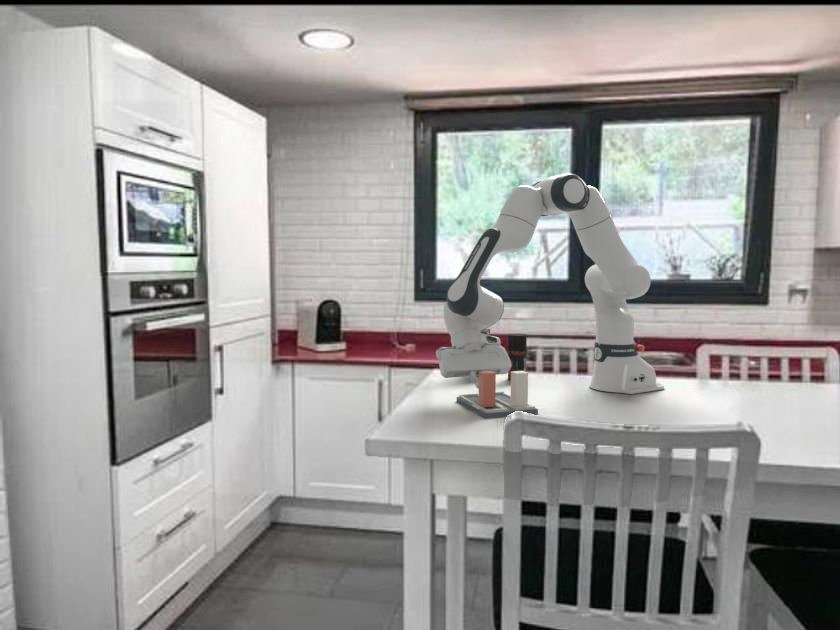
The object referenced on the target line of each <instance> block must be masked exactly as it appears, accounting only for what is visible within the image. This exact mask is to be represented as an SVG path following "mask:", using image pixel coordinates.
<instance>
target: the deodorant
mask: <svg viewBox="0 0 840 630" xmlns="http://www.w3.org/2000/svg"><path fill="white" fill-rule="evenodd" d="M527 335H528V334H526V333H508V337H507V338H508V345H507V346H508V347H507V350H508V351H507V354H508V356H509V358H510V361H511V368H510V370H509V372H508V373H507V380H508V381H510V380H511V371H525V372H527V344H528V343H527Z"/></svg>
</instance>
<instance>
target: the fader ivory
mask: <svg viewBox="0 0 840 630" xmlns="http://www.w3.org/2000/svg"><path fill="white" fill-rule="evenodd" d="M510 396H511V405H512V406H514V407H526V406H528V404H529V403H528V401H529V400H528V398H529V397H528V396H529V372H528V371H526V372H525V371H511V381H510Z"/></svg>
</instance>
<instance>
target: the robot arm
mask: <svg viewBox="0 0 840 630" xmlns="http://www.w3.org/2000/svg"><path fill="white" fill-rule="evenodd" d="M501 208H502V209H501V211H500V213H499V215H498V217H497V220H496V221H495V223H494V225H493V226H492V227H491V228H488V229H486V230H485V231H484V232H483V233H482V235H481V236H479V237H480V238H479V239H478V240H477V241H476V243H475V246H474V247H473V249H472V251H471V253H470V254H469V256H468V257H467V260H466V262H465V263H464V265H463V267H462V269H461V270H460V272H459V273H458V275H457V277H456V278H454V280H453V281H452V283H451V284H450V285H449V288H448V289H447V292H446V301H445V302H444V306H443V319H444V325H445V327H446V330H447V332H448V334H449V336H450V343H451V346H446V347H444V346H440V347H439V348H438V349H436V351H435V356H436V359H437V360H438V365H439V372H440V375H441V377H443V378H445V379H451V378H462V377H463V378H464V377H466V378H467V377H468V379H469V380H470V382H471V383H473V384H474V385H475V388H476V389H479V379H478V378H477V377H476V376H479V371H493V372H495V373H496V376H497V375H508V372H509V370H510V368H511V361H510V358H509V356H508V351H507V350H506V349H505V347H503V346H502V345H501V344H502V342H501V339H500V338H499V337H497V336H493V335H490V336H489V335H486V334H483V333H481V332H480V331H481V330H484V329H489V328H490V327H492V326H493V325H495V324H496V323H498V322H499V321H500V319H501V318H502V317H503V315H504V310H505V306H504V305H505V304H504V301H503V298H502V297H501V296H499V295H498V294H496V293H494V292H493V291H491V290H489V289H487V288H485V287H484V286H482V285H481V284H480V283H481V279H482V277H483V275H484V274H485V272H486V270H487V268H488V266H489V265H490V263H491V261H492V259H493V258H494V257H495V256H496V255H498V254H501V253H507V254H508V253H509V254H514V253H519V252H520V251H523V250H525V248H527V247H528V246H529V244H530V242H531V241H532V238H533V237H534V233H535V231H536V228H537V225H538V223H539V220H540V218H541V217H549V216H558V215H561V214H563V213H564V214H565V213H566V214H567V215H568V216H569V218H570V220H571V222H572V224H573V228H574V229H575V232H576V235H577V237H578V240H579V242H580V245H581V247H582V250H583V252H584V253H585V255H586V256H587V257H589V258H590V259H591V260H592V261H593V262H594V264H593V265H591V266H590V267H589V268H588V269H587V270H586V272H585V275H584V283H585V286H586V288H587V290H588V291H589V293H590V295H591V300H592V303H593V307H594V311H595V312H594V313H595V320H596V322H595V323H596V324H595V327H596V328H595V341H594V349H593V355H594V363H593V364H594V365H593V371H592V377H591V380H590V383H589V388H591V389H592V390H593V389H594V390H596V391H602V392H607V393H608V392H609V393H621V394H629V395H634V394H641V393H646V392H652V391H653V392H655V391H660V390H664V389H665V386H664V385H663V383H660V382H657V377H656V376H657V374H656V370H655V368H654V367H653V366H652V365H651V364H650V363H648V361H646V360H644V359H643V358H642V357H641V356H639V353H638V352H642V353H643V352H644V351H645V349H646V348H645V345H643V344H636V343H635V342H634V333H635V331H634V329H635V328H634V327H635V319H634V316H633V314H632V313H631V311H630V309H629V308H628V304H627V300H632V299H633V300H634V299H637V298H639V297H642V296H644V295H645V294H646V293H648V290H649V289H650V287H651V281H652V279H651V274H650V272H649V271H648V269H647V268H645V267H644V266H643V265H642V264H640V263H639V262H638V261H637V260H636V258H635V257H634V256H633V255H632V253H631V252H630V250H629V249H628V247H627V246H626V245H625V243H624V241H623V240H622V238H621V236H620V234H619V232H618V229H617V226H616V224H615V221H614V220H613V217H612V215H611V212H610V210H609V208H608V206H607V204H606V202H605V200H604V198H603V196H602V195H601V193H600V192H599V191H598V189H597V188H596V187H594V186H591V185H587V184H586V183H585V181H584V179H582V178H581V177H580V176H579V175H577V174H574V173H562V174H557V175H552V176H548V177H547V178H546V179H543V180H539V181H536V182H535V183H534V184H533V185H532V186H530V185H526V184H525V185H524V184H523V185H518V186H516V187H515V188H513V189H512V191H511V192H510V194H509V195H508V197H507V199H506V201H505V202H504V204H503V206H502V207H501Z"/></svg>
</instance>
